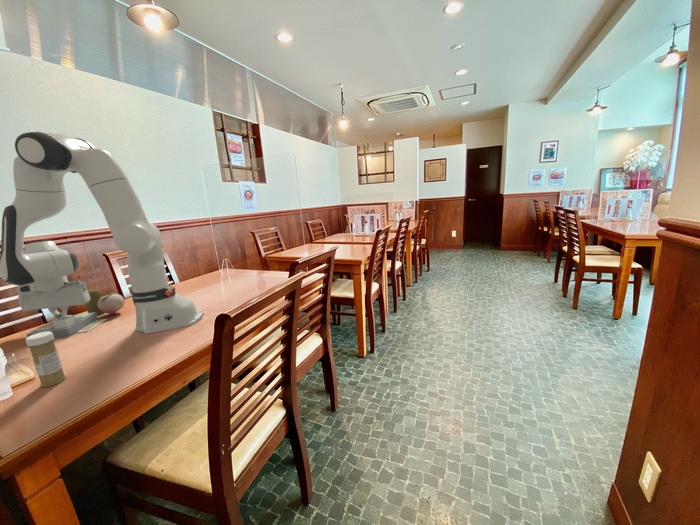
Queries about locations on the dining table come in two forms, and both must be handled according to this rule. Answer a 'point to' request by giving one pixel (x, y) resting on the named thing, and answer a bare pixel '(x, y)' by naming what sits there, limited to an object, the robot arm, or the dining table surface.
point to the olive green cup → (94, 302)
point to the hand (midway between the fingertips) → (61, 317)
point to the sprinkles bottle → (46, 358)
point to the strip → (91, 326)
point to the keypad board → (69, 330)
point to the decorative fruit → (111, 303)
